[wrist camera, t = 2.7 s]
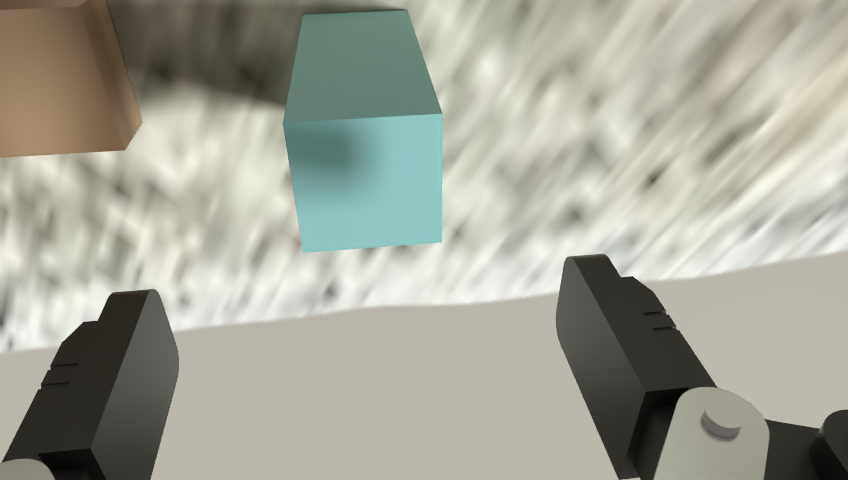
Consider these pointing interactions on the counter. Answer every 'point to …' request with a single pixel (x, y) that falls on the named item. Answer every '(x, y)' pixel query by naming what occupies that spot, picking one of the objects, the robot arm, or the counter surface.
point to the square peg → (363, 134)
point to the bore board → (62, 80)
